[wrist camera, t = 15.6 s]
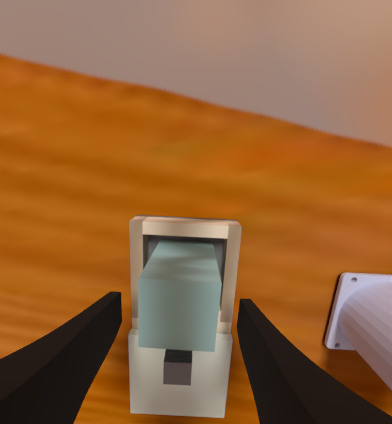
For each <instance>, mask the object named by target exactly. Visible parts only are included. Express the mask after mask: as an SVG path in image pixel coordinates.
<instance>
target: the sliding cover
mask: <svg viewBox="0 0 392 424" xmlns="http://www.w3.org/2000/svg"><path fill="white" fill-rule="evenodd" d="M232 342H233V339H232V334H224V333H216V342H215V352H205V351H190V350H174V349H158V348H143V347H138V329H130V332H129V334H128V347H129V378H130V409H131V413H137V414H157V415H177V416H196V417H216V418H224V414H225V405H226V396H227V387H228V378H229V369H230V360H231V351H232Z"/></svg>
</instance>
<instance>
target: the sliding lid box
mask: <svg viewBox="0 0 392 424" xmlns="http://www.w3.org/2000/svg"><path fill="white" fill-rule="evenodd" d="M129 231H130V268H131V306H132V329H138V278H139V276H140V275H141V273H142V271H143V269H144V268H145V266H146V264H147V262H148V261H149V259H150V257H151V255H152V253H153V252H154V250H155V248H156V246H157V245H158V243H159V241H160V239H167V240H182V241H197V242H212V243H213V246H214V251H215V255H216V260H217V264H218V269H219V274H220V278H221V283H222V286H221V295H220V305H219V314H218V323H217V333H224V334H230V333H231V324H232V315H233V306H234V296H235V287H236V278H237V268H238V259H239V250H240V241H241V231H242V226H241V225H240V224H239V223H238V221H237V220H225V219H206V218H187V217H167V216H148V215H137V216H136V217H134V218H133V219H131V220H130V221H129Z"/></svg>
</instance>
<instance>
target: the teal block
mask: <svg viewBox="0 0 392 424" xmlns="http://www.w3.org/2000/svg"><path fill="white" fill-rule="evenodd" d="M221 286H222V283H221V278H220V274H219V269H218V264H217V260H216V255H215V251H214V246H213V243H212V242H197V241H182V240H167V239H160V241H159V243H158V245H157V246H156V248H155V250H154V252H153V253H152V255H151V257H150V259H149V261H148V262H147V264H146V266H145V268H144V269H143V271H142V273H141V275H140V276H139V278H138V347H143V348H158V349H174V350H190V351H205V352H215V342H216V333H217V323H218V314H219V305H220V295H221Z"/></svg>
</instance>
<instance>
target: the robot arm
mask: <svg viewBox="0 0 392 424" xmlns="http://www.w3.org/2000/svg"><path fill="white" fill-rule="evenodd" d="M352 278H353V279H352ZM351 279H352V280H351ZM121 322H122V309H121V292H109V293H108V294H106V295H105V296H103V297H102V298H101V299H99V300H98V301H97V302H95V303H94V304H92V305H91V306H90V307H88V308H87V309H85V310H84V311H83V312H81V313H80V314H78V315H77V316H75V317H74V318H72V319H71V320H69V321H68V322H66V323H65V324H63V325H62V326H60V327H59V328H57V329H55V330H54V331H52V332H50V333H49V334H47V335H45V336H43V337H42V338H40V339H38V340H36V341H35V342H33V343H31V344H29V345H27V346H25V347H23V348H21V349H19V350H17V351H16V352H14V353H12V354H10V355H8V356H6V357H4V358H2V359H0V424H73V423H74V421H75V418H76V416H77V414H78V412H79V409H80V407H81V405H82V402H83V400H84V398H85V396H86V394H87V392H88V390H89V388H90V386H91V384H92V382H93V380H94V378H95V376H96V374H97V372H98V370H99V369H100V367H101V365H102V363H103V361H104V359H105V357H106V355H107V353H108V352H109V350H110V348H111V346H112V344H113V342H114V340H115V338H116V335H117V333H118V330H119V328H120V325H121ZM237 331H238V338H239V343H240V348H241V352H242V355H243V359H244V363H245V366H246V370H247V373H248V377H249V381H250V384H251V388H252V391H253V395H254V399H255V403H256V407H257V412H258V417H259V422H260V424H392V417H391V416H390V415H388V414H387V413H385V412H383V411H382V410H380V409H378V408H377V407H375V406H374V405H372V404H370V403H369V402H367V401H366V400H364V399H363V398H361V397H360V396H358V395H357V394H356V393H354V392H353V391H351V390H350V389H348V388H347V387H345V386H344V385H343V384H341V383H340V382H338V381H337V380H336V379H334V378H333V377H332V376H330V375H329V374H328V373H326V372H325V371H324V370H322V369H321V368H320V367H319V366H317V365H316V364H315V363H314V362H312V361H311V360H310V359H309V358H308V357H306V356H305V355H304V354H303V353H302V352H301V351H300V350H298V349H297V348H296V347H295V346H294V345H293V344H292V343H291V342H290V341H289V340H288V339H287V338H286V337H285V336H284V335H283V334H281V333H280V331H279V330H278V329H277V328H276V327H275V326H274V325H273V324H272V323H271V322H270V321H269V320H268V319H267V318H266V316H265V315H264V314H263V313H262V312H261V311H260V310H259V308H258V307H257V306H256V305H255V304H254V303H253V302H252V300H251V299H240V305H239V313H238V322H237ZM324 343H325V345H326V346H327V348H329V349H342V350H356V351H357V352H358V353H359V354H360V356H361V357H362V358H363V359H364V360H365V361H366V362H367V363H368V365H369V366H370V367H371V368H372V369H373V370H374V371H375V372H376V374H377V375H378V376H379V377H380V378H381V379H382V380H383V381H384V383H385V384H386V385H387V386H388V387H389V388H390V389H391V390H392V275H384V274H365V273H343V274H342V275H341V276H340V279H339V283H338V287H337V291H336V295H335V300H334V304H333V308H332V312H331V316H330V321H329V325H328V329H327V333H326V337H325V342H324Z"/></svg>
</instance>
